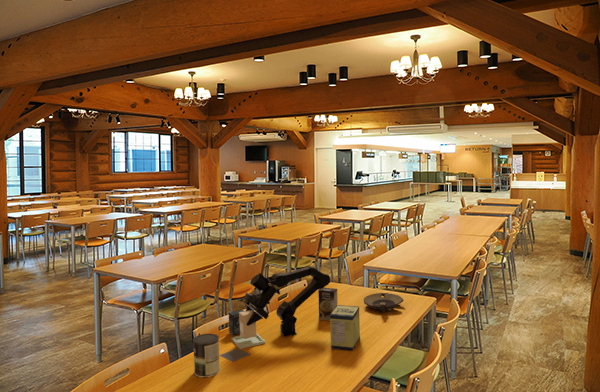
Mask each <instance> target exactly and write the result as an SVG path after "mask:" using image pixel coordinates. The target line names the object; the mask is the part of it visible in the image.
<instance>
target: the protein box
mask: <svg viewBox="0 0 600 392" xmlns="http://www.w3.org/2000/svg"><path fill="white" fill-rule="evenodd" d="M329 321H330V348H331V349H336V350H343V351H354V350H355V348H356V346H357V344H358V343H359V340H360V339H361V325H360V306H355V305H345V304H344V305H342V304H337V307H336V309H335V310H334V311H333V312H332V313H331V315H330V320H329Z"/></svg>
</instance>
